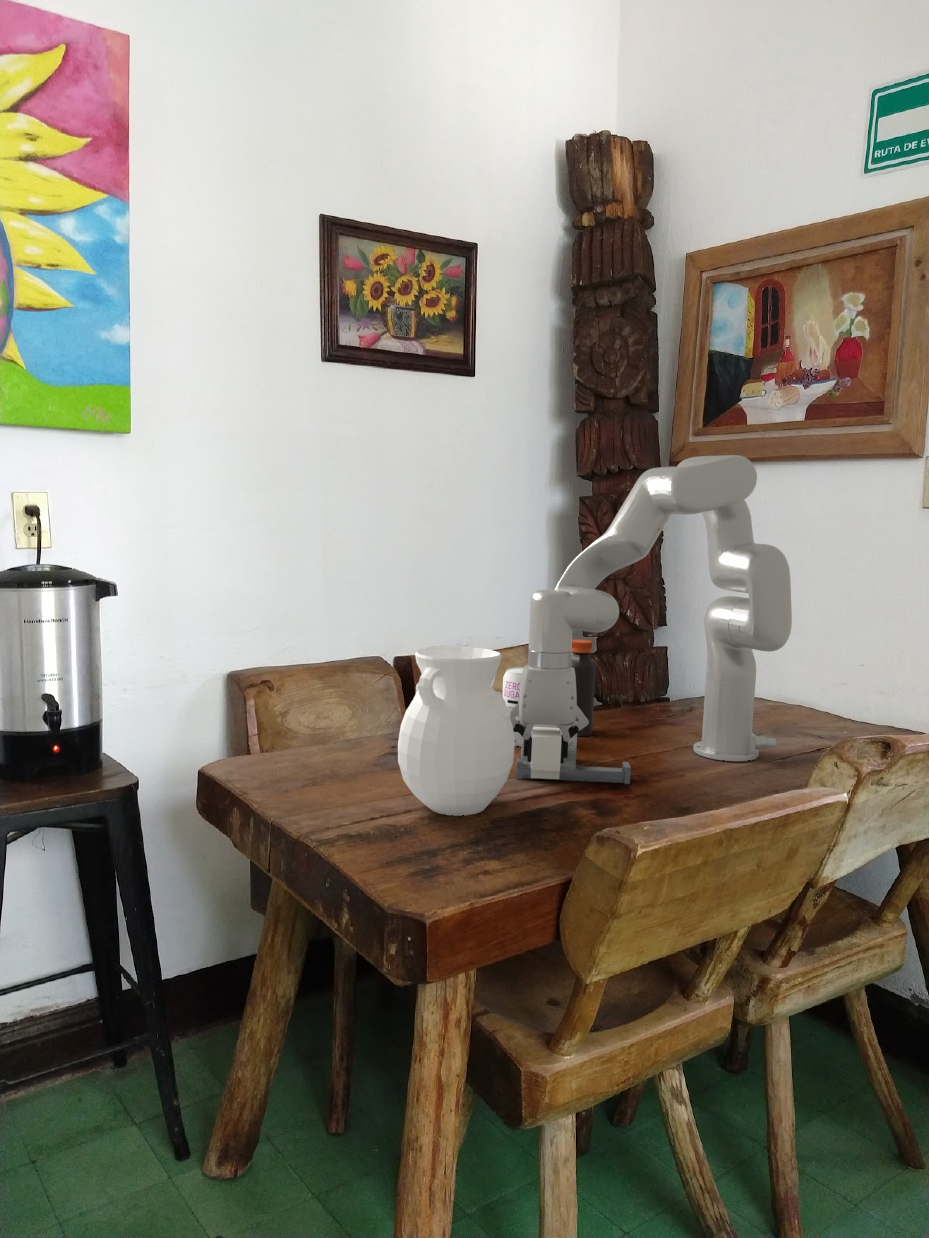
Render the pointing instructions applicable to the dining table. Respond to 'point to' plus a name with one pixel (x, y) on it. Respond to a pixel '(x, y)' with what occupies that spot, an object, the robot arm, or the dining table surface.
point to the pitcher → (456, 731)
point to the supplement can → (513, 695)
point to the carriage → (546, 753)
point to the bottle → (584, 682)
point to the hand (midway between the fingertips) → (545, 759)
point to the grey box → (571, 746)
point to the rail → (581, 773)
